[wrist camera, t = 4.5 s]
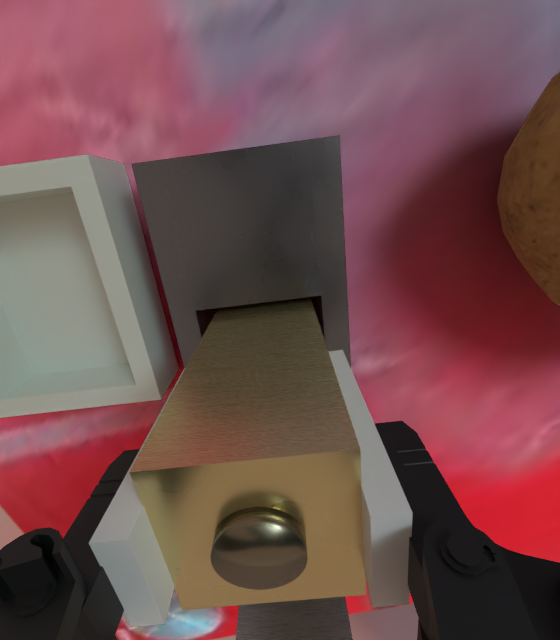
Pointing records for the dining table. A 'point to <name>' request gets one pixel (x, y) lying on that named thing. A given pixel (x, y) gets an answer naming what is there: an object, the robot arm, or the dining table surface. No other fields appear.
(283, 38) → the dining table surface
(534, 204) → the potato
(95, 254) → the parts tray
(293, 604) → the square rod with stud
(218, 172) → the rail
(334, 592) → the block with metal knob
